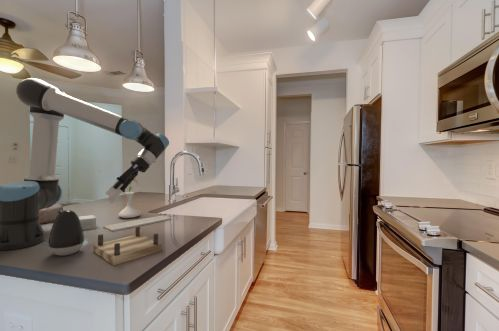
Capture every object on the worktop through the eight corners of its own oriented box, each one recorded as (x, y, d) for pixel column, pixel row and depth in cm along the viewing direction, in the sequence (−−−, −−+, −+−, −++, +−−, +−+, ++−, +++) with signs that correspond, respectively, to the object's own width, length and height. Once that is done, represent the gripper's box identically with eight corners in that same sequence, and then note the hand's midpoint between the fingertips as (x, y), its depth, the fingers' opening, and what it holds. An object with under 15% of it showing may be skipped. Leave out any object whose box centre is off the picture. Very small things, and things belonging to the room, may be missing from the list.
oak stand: (93, 251, 89) (93, 235, 88) (139, 240, 102) (139, 225, 102) (113, 265, 78) (113, 246, 78) (162, 250, 91) (162, 234, 91)
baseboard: (101, 228, 119) (111, 233, 112) (101, 222, 119) (111, 227, 112) (159, 217, 143) (171, 220, 136) (159, 212, 143) (171, 215, 136)
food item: (32, 226, 117) (32, 206, 117) (25, 224, 121) (24, 204, 121) (65, 220, 129) (65, 202, 129) (57, 218, 133) (57, 200, 133)
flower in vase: (137, 219, 135) (138, 173, 134) (115, 219, 133) (115, 173, 132) (143, 213, 147) (143, 172, 147) (122, 214, 145) (123, 172, 145)
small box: (96, 228, 117) (96, 217, 117) (76, 231, 112) (76, 220, 112) (93, 224, 123) (93, 214, 123) (74, 227, 118) (74, 216, 118)
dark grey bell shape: (75, 245, 94) (75, 206, 94) (90, 251, 89) (90, 209, 88) (42, 254, 85) (42, 210, 85) (56, 261, 80) (56, 214, 80)
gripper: (153, 157, 103) (116, 198, 93) (147, 173, 124) (117, 208, 114) (138, 146, 102) (99, 186, 91) (134, 164, 123) (102, 198, 112)
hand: (108, 198), depth 102 cm, fingers open, 13 cm apart
